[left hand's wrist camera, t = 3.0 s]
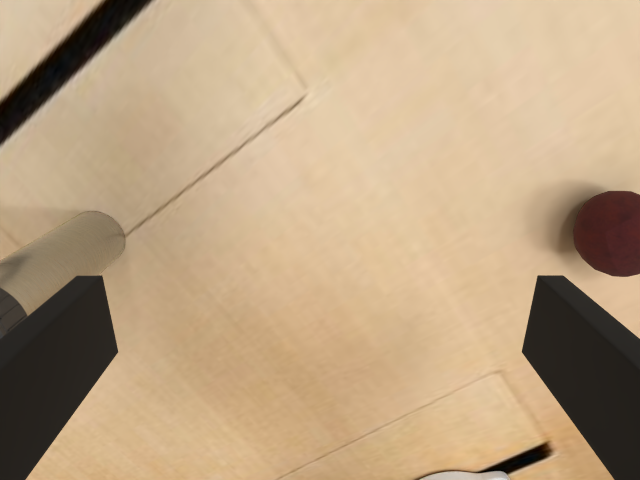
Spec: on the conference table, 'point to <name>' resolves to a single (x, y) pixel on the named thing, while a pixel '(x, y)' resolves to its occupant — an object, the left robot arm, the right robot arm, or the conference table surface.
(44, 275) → the jar
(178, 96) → the conference table surface
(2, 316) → the lid
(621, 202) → the dark red round ball
